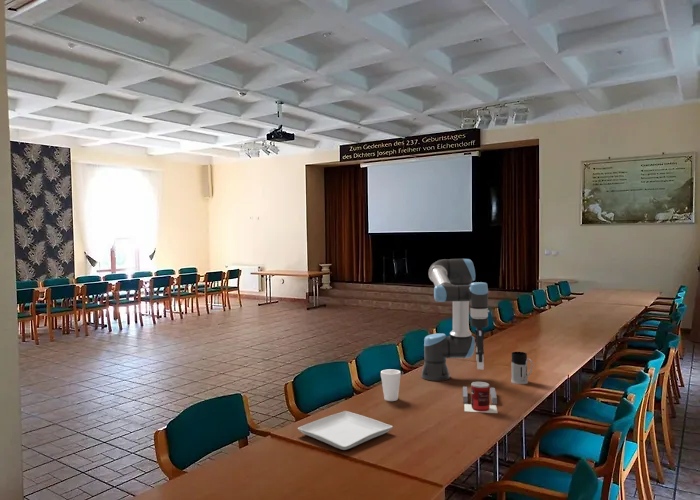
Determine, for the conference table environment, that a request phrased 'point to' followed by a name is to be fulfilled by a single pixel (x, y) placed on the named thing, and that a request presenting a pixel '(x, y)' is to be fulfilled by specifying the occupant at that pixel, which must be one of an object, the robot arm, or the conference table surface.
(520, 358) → the white and black mug
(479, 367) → the robot arm
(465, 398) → the chute
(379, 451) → the conference table surface
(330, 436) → the square plate
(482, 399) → the canned food
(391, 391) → the foam cup
